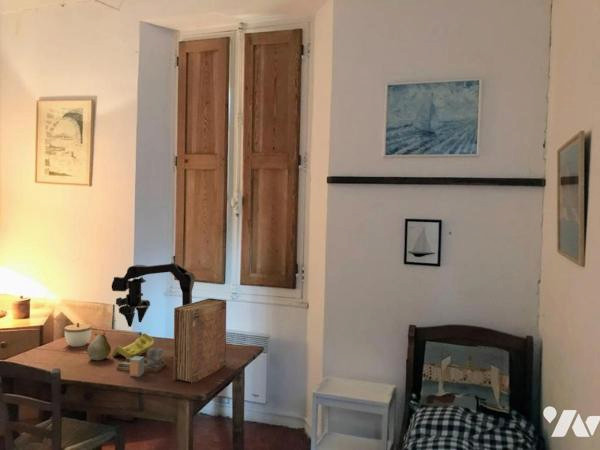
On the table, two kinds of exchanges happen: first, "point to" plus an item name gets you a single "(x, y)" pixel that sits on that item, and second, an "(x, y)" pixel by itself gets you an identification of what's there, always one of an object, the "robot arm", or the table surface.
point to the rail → (147, 361)
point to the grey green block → (137, 366)
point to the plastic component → (135, 347)
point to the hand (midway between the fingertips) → (135, 324)
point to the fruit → (99, 348)
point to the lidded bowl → (77, 334)
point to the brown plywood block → (199, 339)
